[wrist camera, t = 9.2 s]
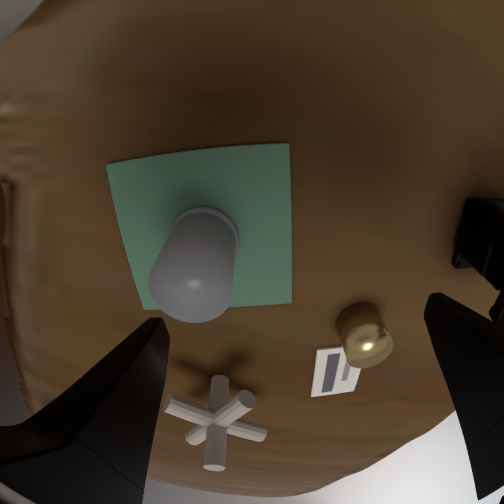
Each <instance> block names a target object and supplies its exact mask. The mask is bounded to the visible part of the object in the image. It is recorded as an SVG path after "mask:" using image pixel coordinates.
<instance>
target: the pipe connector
mask: <svg viewBox="0 0 504 504" xmlns="http://www.w3.org/2000/svg"><path fill="white" fill-rule="evenodd" d="M228 394H229V379H228V377H226V376H224V375H215V376H213V377H212V379H211V388H210V398H209V408H207V407H205V406H202V405H199V404H196V403H194V402H191V401H189V400H186V399H184V398H181V397H179V396H176V395H174V394H171V393H170V394H169V395H168V396H167V398H166V400H165V402H164V406H163V411H164V412H167V413H169V414H172V415H174V416H177V417H180V418H182V419H185V420H188V421H191V422H194V423H196V424H197V425H195V426H194V427H193V428H191V429H190V430H189V431H187V432H186V434H185V437H186V440H187V441H188V443H190V444H192V445H198V444H199V443H201V442H203V441H204V440H206V441H205V453H204V466H203V467H204V468H205V469H207V470H211V471H223V470H225V466H226V440H227V433H228V434H232V435H235V436H239V437H242V438H246V439H250V440H254V441H258V442H261V441H263V440H264V439H265V437H266V435H267V428H266V426H264V425H260V424H257V423H253V422H250V421H247V420H243V419H240V417H241V416H242V415H244V414H245V413H247V412H248V411H250V410H251V409H252V408H254V407H255V406H256V403H257V402H256V398H255V396H254V395H253V394H252V393H251V392H249V391H248V390H241V391H239V392H238V393H237V394H236V395H234V396H233V397H232V398H231V399H229V400H228Z"/></svg>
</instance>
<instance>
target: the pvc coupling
mask: <svg viewBox="0 0 504 504" xmlns="http://www.w3.org/2000/svg"><path fill="white" fill-rule="evenodd" d="M238 249H239V232H238V229H237V227H236V225H235V223H234V221H233V220H232V219H231V218H230V217H229V216H228V215H227V214H226V213H225V212H223V211H221V210H220V209H217V208H215V207H211V206H194V207H191V208H188V209H186V210H184V211H183V212H181V213H180V214H179V215H178V216H177V217H176V219H175V220H174V222H173V223H172V225H171V227H170V229H169V232H168V236H167V240H166V242H165V244H164V246H163V248H162V250H161V252H160V254H159V256H158V257H157V259H156V261H155V263H154V265H153V267H152V269H151V271H150V273H149V277H148V289H149V293H150V295H151V297H152V299H153V301H154V302H155V304H156V305H157V306H158V307H159V308H160V309H161V310H162V311H163V312H164V313H166V314H167V315H169V316H171V317H173V318H175V319H177V320H180V321H184V322H190V323H201V322H206V321H210V320H212V319H215V318H217V317H218V316H220V315H221V314H222V313H223V312H224V311H225V310H226V309H227V308H228V306H229V304H230V302H231V299H232V291H233V278H234V264H235V258H236V256H237V253H238Z"/></svg>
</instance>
